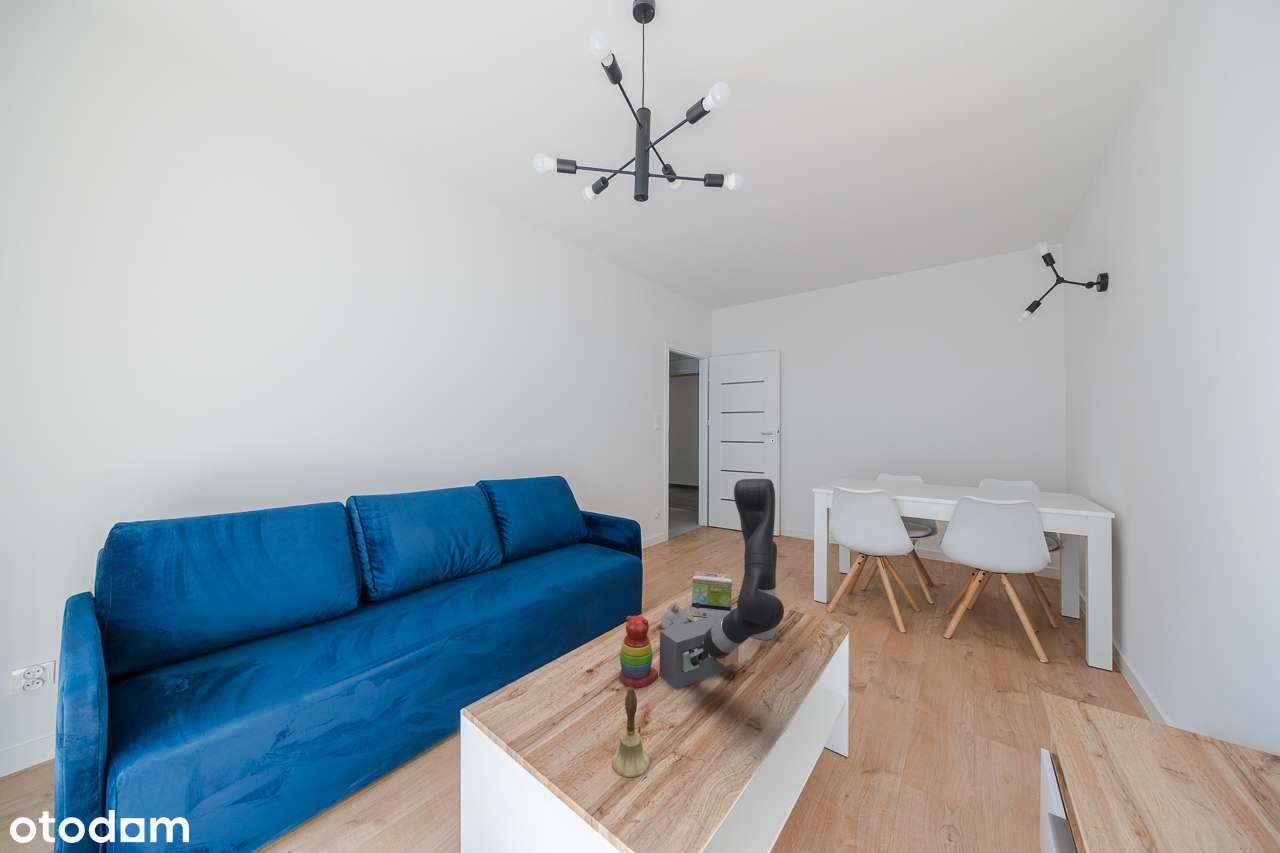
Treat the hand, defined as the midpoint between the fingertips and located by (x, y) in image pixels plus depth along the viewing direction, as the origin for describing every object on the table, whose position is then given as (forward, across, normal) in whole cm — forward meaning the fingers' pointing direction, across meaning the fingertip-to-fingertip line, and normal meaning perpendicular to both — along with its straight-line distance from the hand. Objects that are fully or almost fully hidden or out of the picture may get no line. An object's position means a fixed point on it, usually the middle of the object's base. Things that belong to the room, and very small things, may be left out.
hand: (693, 662), depth 121 cm
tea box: (+29, -37, -19) cm, 51 cm away
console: (+9, -6, +1) cm, 11 cm away
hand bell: (-5, +29, +15) cm, 33 cm away
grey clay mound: (+26, -17, -16) cm, 35 cm away
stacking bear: (+13, +12, -3) cm, 18 cm away
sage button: (+3, 0, 0) cm, 4 cm away
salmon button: (+1, -12, +2) cm, 12 cm away
